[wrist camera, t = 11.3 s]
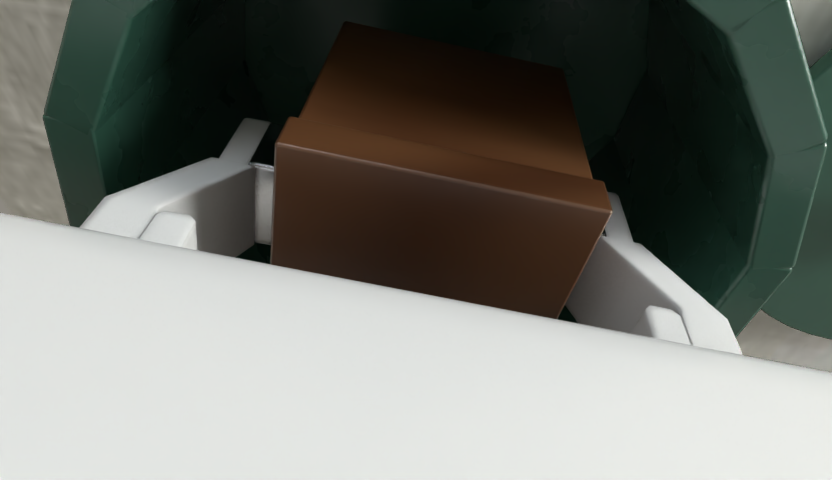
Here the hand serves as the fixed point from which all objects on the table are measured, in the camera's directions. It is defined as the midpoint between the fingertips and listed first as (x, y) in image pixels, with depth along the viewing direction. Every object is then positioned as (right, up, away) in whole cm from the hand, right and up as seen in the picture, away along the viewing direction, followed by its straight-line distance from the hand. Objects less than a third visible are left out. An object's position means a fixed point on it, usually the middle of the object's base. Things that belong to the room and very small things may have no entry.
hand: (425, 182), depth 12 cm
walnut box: (0, +1, +1) cm, 2 cm away
